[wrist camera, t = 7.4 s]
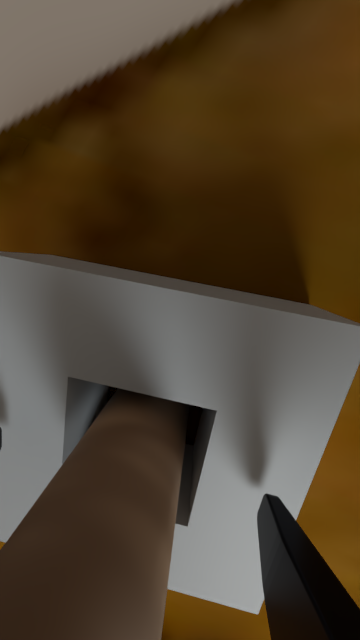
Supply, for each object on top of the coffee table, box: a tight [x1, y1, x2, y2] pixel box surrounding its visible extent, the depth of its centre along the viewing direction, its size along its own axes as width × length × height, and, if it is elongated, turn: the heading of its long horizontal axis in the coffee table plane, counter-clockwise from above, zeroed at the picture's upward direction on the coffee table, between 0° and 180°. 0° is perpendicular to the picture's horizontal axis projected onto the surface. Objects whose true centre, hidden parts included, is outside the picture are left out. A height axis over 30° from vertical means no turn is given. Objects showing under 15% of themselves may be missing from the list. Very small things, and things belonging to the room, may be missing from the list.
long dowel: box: [0, 388, 190, 640], centre depth 8 cm, size 4×4×9 cm
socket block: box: [0, 251, 360, 615], centre depth 10 cm, size 12×12×4 cm
